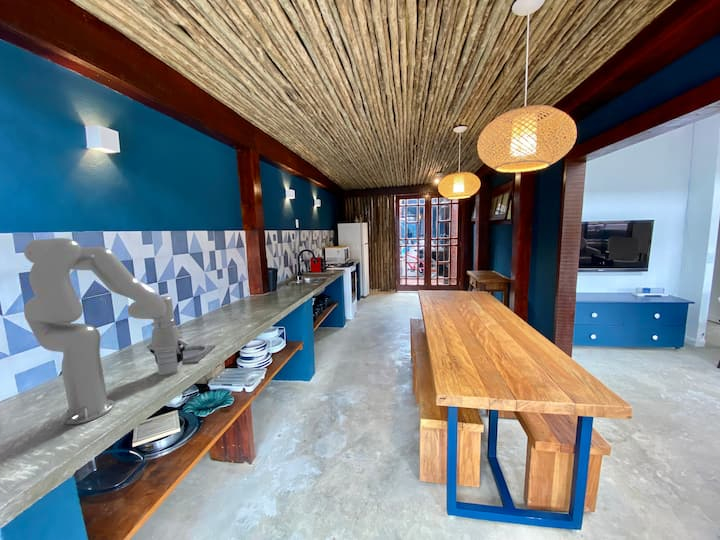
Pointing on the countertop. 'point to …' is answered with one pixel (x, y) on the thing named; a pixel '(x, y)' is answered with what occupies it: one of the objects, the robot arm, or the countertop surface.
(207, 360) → the countertop surface
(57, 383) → the countertop surface
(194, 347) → the steel ring
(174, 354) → the supplement box
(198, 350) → the slate board
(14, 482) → the countertop surface
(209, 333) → the countertop surface
